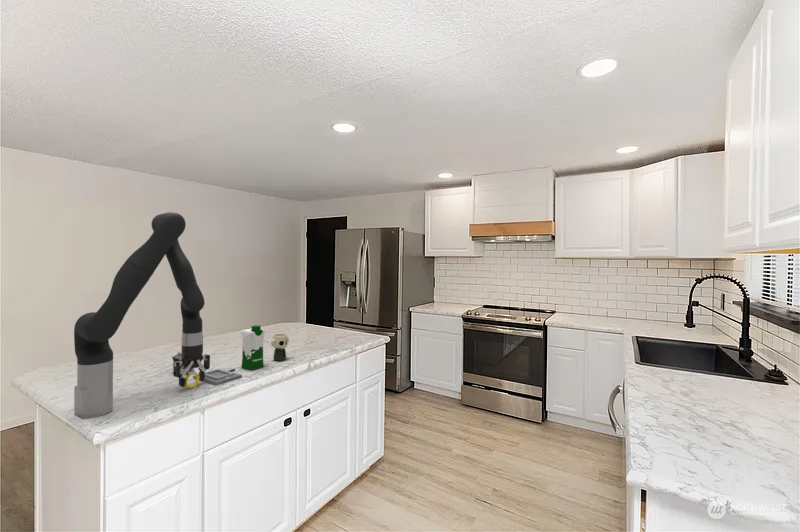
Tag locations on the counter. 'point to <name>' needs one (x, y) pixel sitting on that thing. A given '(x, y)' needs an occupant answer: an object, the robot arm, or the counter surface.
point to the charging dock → (220, 376)
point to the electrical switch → (179, 358)
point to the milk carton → (252, 348)
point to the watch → (189, 376)
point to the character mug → (280, 345)
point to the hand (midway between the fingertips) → (192, 383)
